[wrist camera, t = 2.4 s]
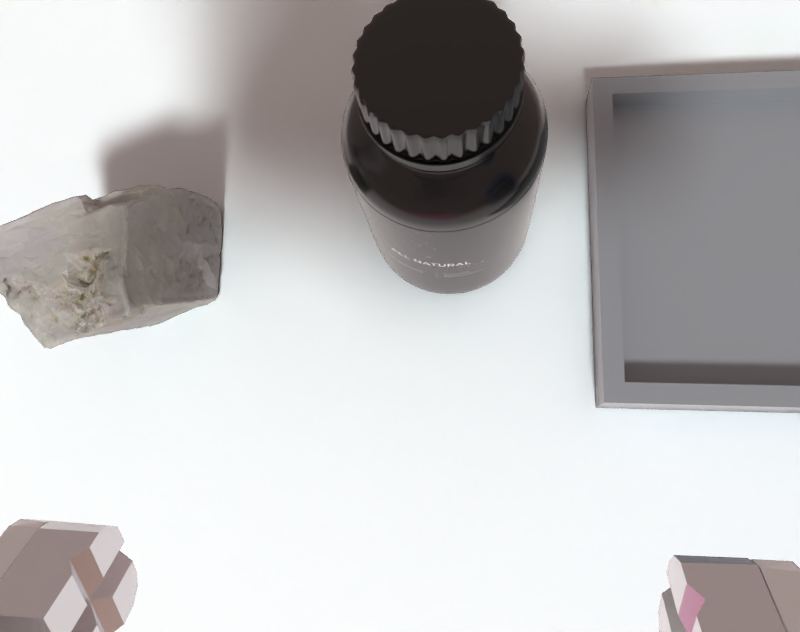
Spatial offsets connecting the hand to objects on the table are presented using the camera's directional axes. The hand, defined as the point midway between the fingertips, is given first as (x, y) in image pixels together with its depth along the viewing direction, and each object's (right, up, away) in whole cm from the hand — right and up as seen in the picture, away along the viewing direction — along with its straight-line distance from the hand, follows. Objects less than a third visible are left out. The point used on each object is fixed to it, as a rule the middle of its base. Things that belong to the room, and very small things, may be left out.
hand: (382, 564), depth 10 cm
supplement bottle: (+3, +8, +20) cm, 21 cm away
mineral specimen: (-10, +5, +21) cm, 24 cm away
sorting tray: (+15, +7, +18) cm, 24 cm away
